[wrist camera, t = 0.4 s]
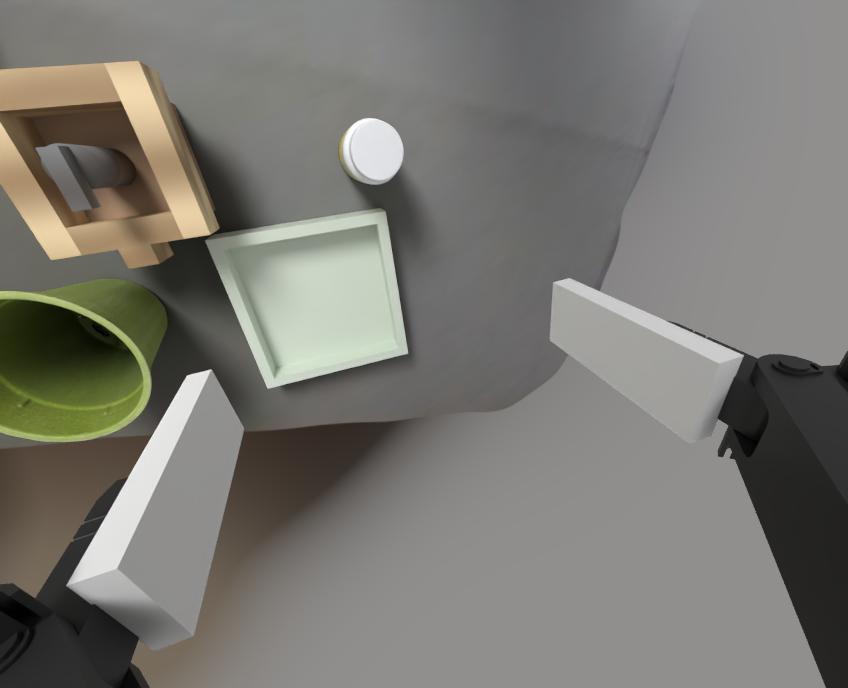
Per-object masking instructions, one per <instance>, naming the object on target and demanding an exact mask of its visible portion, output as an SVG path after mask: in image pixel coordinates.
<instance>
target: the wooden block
mask: <svg viewBox="0 0 848 688" xmlns="http://www.w3.org/2000/svg"><path fill="white" fill-rule="evenodd" d="M170 104H171V106H172V109H173V111H174V114H175V117H176V119H177V122H178V124H179V127H180V129H181V132H182V134H183V137H184V139H185V142H186V144H187V147H188V149H189V152H190V154H191V157H192V159H193V162H194V165H195V167H196V170H197V172H198V175H199V177H200V180H201V182H202V185H203V187H204V190H205V192H206V195H207V197H208V200H209V202H210V205H211V207H212V210H213V211H216V209H215V207H214V204H213V202H212V199H211V196H210V194H209V191H208V189H207V186H206V184H205V181H204V179H203V176H202V173H201V171H200V168H199V166H198V163H197V161H196V158H195V156H194V153H193V150H192V148H191V145H190V143H189V140H188V138H187V135H186V133H185V130H184V128H183V125H182V122H181V120H180V117H179V115H178V112H177V110H176V107H175V105H174V104H173V103H171V102H170ZM31 119H32V121H33V123H34V124H35V126H36V128H37V130H38V131H39V133H40V135H41V137H42V138H43V140H44V142H45V144H46V145H47V147H37V148H35V149H36V150H37V152H38V154H39V155H40V157H41V163H42V166H43V168H44V170H45V172H46V173H47V175H48V176H49V177H50V178H51V179H52V180H53V181H55V183H56V184H57V186H58V188H59V189H60V191H61V193H62V194H63V196H64V198H65V200H66V201H67V203H68V205H69V206H70V208H71V210H72V211H80V210H84V212H85V213H86V215H87V217H88V219H89V220H90V222H92V221H99V220H106V219H113V218H120V217H127V216H134V215H141V214H148V213H155V212H162V211H169V210H170V208H169V205H168V203H167V201H166V199H165V196H164V194H163V192H162V190H161V188H160V185H159V183H158V181H157V179H156V177H155V174H154V172H153V170H152V168H151V166H150V163H149V161H148V159H147V157H146V155H145V152H144V150H143V148H142V146H141V144H140V141H139V139H138V137H137V135H136V133H135V130H134V128H133V126H132V124H131V122H130V119H129V117H128V115H127V113H126V111H125V110H116V111H105V112H94V113H82V114H71V115H59V116H48V117H37V118H31Z"/></svg>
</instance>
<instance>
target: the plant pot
mask: <svg viewBox="0 0 848 688" xmlns="http://www.w3.org/2000/svg"><path fill="white" fill-rule="evenodd" d="M78 316H83V317H89V318H81V317H78ZM93 324H96V325H98V326H100V327H101V328H102V329H103V330H105V331H106V332H108V333H109V336H105V335H103V334H101V333H100V332H98V331H97V330H96V329H95V328H94V327H93ZM167 326H168V322H167V315H166V310H165V308H164V306H163V305H162V303H161V302H160V301H159V299H158V298H157V297H156V296H155V295H154V294H153V293H151V292H150V291H149V290H147V289H146V288H144V287H142V286H140V285H138V284H136V283H133V282H130V281H127V280H120V279H98V280H93V281H89V282H84V283H79V284H75V285H71V286H67V287H62V288H57V289H52V290H48V291H43V292H21V291H0V432H2V433H5V434H8V435H12V436H16V437H21V438H27V439H32V440H38V441H47V442H71V441H83V440H89V439H93V438H97V437H101V436H104V435H107V434H110V433H113V432H115V431H117V430H120V429H121V428H123V427H125V426H126V425H128V424H129V423H131V422H132V421H133V420H134V419H136V418H137V417H138V416H139V415H140V413H141V412H142V411H143V409H144V408H145V407H146V405H147V403H148V401H149V398H150V395H151V389H152V377H151V365H152V363H153V361H154V358H155V356H156V354H157V351H158V349H159V346H160V344H161V342H162V339H163V337H164V334H165V332H166V329H167Z"/></svg>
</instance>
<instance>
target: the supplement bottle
mask: <svg viewBox="0 0 848 688" xmlns="http://www.w3.org/2000/svg"><path fill="white" fill-rule="evenodd" d="M403 155H404V151H403V144H402V141H401V138H400V136H399V134H398V133H397V131H396V130H395V129H394V128H393V127H392V126H391V125H389V124H388V123H386V122H383V121H381V120H378V119H374V118H366V119H362V120H359V121H357V122H356V123H354V124H353V125H352V126H351V127H350V128H349V129H348V130H347V131H346V133H345V134H344V135H343V137H342V139H341V141H340V144H339V159H340V162H341V165H342V167H343V169H344V170H345V172H346V173H347V174H348V175H349V176H350V177H352V178H353V179H355V180H357V181H359V182H363V183H366V184H372V185H379V184H383V183H386V182H388V181H389V180H390V179H391V178H393V177H394V175H395V174H396V173H397V172H398V170H399V168H400V167H401V164H402V161H403Z"/></svg>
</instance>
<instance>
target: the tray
mask: <svg viewBox="0 0 848 688" xmlns="http://www.w3.org/2000/svg"><path fill="white" fill-rule="evenodd" d="M205 242H206V244H207V247H208V249H209V251H210V254H211V256H212V258H213V261H214V263H215V266H216V268H217V270H218V273H219V275H220V277H221V280H222V282H223V284H224V287H225V289H226V291H227V294H228V296H229V299H230V301H231V303H232V306H233V308H234V310H235V313H236V315H237V317H238V320H239V322H240V324H241V327H242V329H243V332H244V334H245V336H246V339H247V341H248V343H249V346H250V348H251V350H252V353H253V355H254V357H255V360H256V362H257V365H258V367H259V369H260V372H261V374H262V376H263V379H264V381H265V383H266V386H267V388H268V389H269V388H273V387H277V386H281V385H285V384H289V383H293V382H297V381H301V380H305V379H309V378H313V377H317V376H321V375H325V374H329V373H333V372H336V371H340V370H344V369H348V368H352V367H356V366H360V365H364V364H368V363H372V362H376V361H380V360H384V359H388V358H392V357H396V356H400V355H404V354H408V349H407V343H406V336H405V330H404V324H403V318H402V311H401V305H400V299H399V292H398V286H397V280H396V273H395V267H394V261H393V254H392V248H391V242H390V235H389V229H388V223H387V216H386V211H384V210H383V209H381V208H377V209H370V210H364V211H358V212H352V213H345V214H339V215H333V216H327V217H320V218H314V219H308V220H302V221H295V222H289V223H283V224H276V225H270V226H264V227H258V228H251V229H245V230H239V231H233V232H226V233H220V234H214V235H212V236H211V237H209V238H208V239H206V240H205Z"/></svg>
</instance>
